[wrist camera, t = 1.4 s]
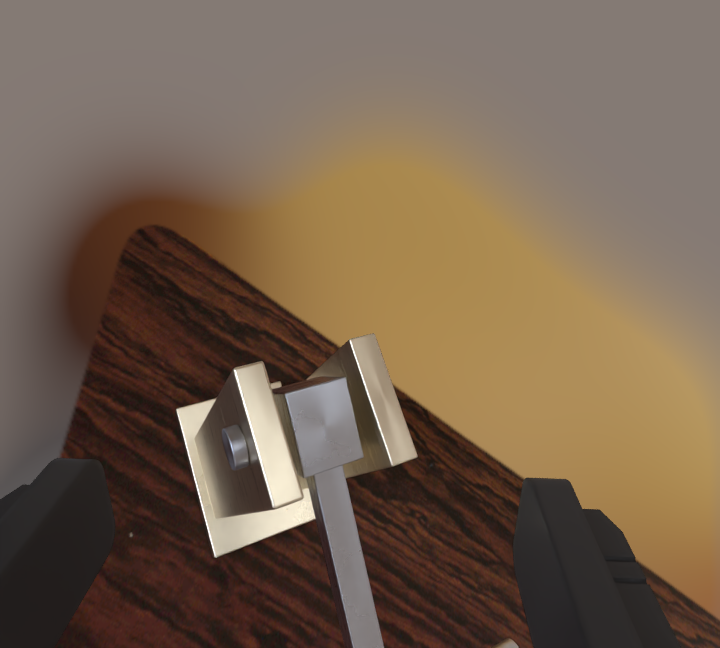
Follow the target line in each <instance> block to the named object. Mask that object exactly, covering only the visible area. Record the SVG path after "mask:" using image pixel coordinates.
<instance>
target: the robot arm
mask: <svg viewBox="0 0 720 648" xmlns="http://www.w3.org/2000/svg"><path fill="white" fill-rule="evenodd" d="M114 536H115V519H114V514H113V510H112V505H111V501H110V496H109V492H108V487H107V483H106V478H105V474H104V469H103V466H102V464H101V463H100V462H99V461H98V460H92V459H67V458H57V459H54V460H53V461H51V462H50V463H49V464H48V465H47V466H46V467H45V469H44V470H43V471H42V472H41V473H40V474H39V475H38V476H37V478H36V479H35V480H34V481H33V482H32V483H31V484H30V485H22V486H20V487H19V488H17V489H16V490H14V491H13V492H11V493H10V494H8V495H6V496H5V497H4V498H2V499H0V648H54V647H55V646H56V644H57V642H58V641H59V639H60V637H61V635H62V634H63V632H64V630H65V629H66V627H67V625H68V624H69V622H70V620H71V618H72V617H73V615H74V613H75V612H76V610H77V608H78V606H79V605H80V603H81V601H82V600H83V598H84V596H85V595H86V593H87V591H88V589H89V588H90V586H91V584H92V583H93V581H94V579H95V577H96V576H97V574H98V572H99V571H100V569H101V567H102V566H103V564H104V562H105V560H106V559H107V557H108V555H109V553H110V551H111V548H112V545H113V541H114ZM513 560H514V569H515V575H516V579H517V583H518V587H519V591H520V595H521V599H522V603H523V607H524V611H525V615H526V619H527V623H528V627H529V631H530V635H531V639H532V643H533V647H534V648H681V646H680V644H679V642H678V640H677V638H676V636H675V634H674V633H673V631H672V629H671V627H670V625H669V623H668V621H667V619H666V617H665V615H664V613H663V611H662V609H661V607H660V605H659V603H658V601H657V599H656V597H655V595H654V593H653V591H652V589H651V587H650V585H647V583H646V577H645V575H644V573H643V572H642V570H641V568H640V566H639V564H638V563H636V561H635V556H634V554H633V552H632V550H631V548H630V546H629V544H628V542H627V540H626V538H625V536H624V534H623V532H622V531H621V530H620V529H619V528H618V527H617V526H616V525H615V524H614V523H613V522H612V521H611V520H610V519H608V517H607V516H605V515H604V514H603V513H602V512H601V511H600V510H594V509H582V507H581V505H580V503H579V501H578V498H577V496H576V494H575V492H574V489H573V487H572V485H571V483H570V482H569V481H568V480H566V479H547V478H525V480H524V482H523V485H522V491H521V497H520V503H519V510H518V516H517V522H516V528H515V535H514V542H513Z"/></svg>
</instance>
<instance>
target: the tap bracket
mask: <svg viewBox="0 0 720 648" xmlns="http://www.w3.org/2000/svg"><path fill="white" fill-rule="evenodd" d="M319 376H329V377H346V380H347V384H348V389H349V393H350V398H351V402H352V406H353V411H354V415H355V420H356V424H357V428H358V433H359V437H360V442H361V446H362V451H363V455H364V457H363V458H362V459H359V460H356V461H353V462H350V463H347V464H345V465H343V469H344V473H345V478H346V479H347V478H351V477H355V476H358V475H362V474H366V473H370V472H374V471H378V470H382V469H385V468H389V467H393V466H396V465H399V464H401V463H404V462H407V461H410V460H412V459H415V458H417V457H418V456H417V453H416V450H415V447H414V444H413V441H412V439H411V436H410V433H409V430H408V427H407V424H406V422H405V419H404V416H403V413H402V410H401V407H400V404H399V402H398V399H397V396H396V393H395V390H394V387H393V385H392V382H391V379H390V376H389V374H388V370H387V368H386V365H385V362H384V359H383V356H382V353H381V350H380V348H379V345H378V342H377V339H376V337H375V334H374V333H373V334H369V335H364V336H361V337H356V338H352V339H349V340H348V341H347V342H346V343H345V344H344V345H343V346H342V347H341V348H340V349H338V350H337V351H336V352H335V353H334V354H333V355H332V356H331V357H330V358H329V359H328V360H327V361H326V362H324V363H323V364H322V365H321V366H320V367H319V368H318V369H317V370H316V371H315V372H314V373H313V374H311V375H310V376H309V377H308V378H307V379H306V380H308V379H312V378H316V377H319ZM279 387H282V385H281V382H280V381H278V382H274V383H270V382H269V379H268V375H267V372H266V369H265V365H264V363H263V362H261V361H260V362H256V363H251V364H247V365H243V366H239V367H235V368H234V369H233V370H232V372H231V374H230V376H229V377H228V379H227V381H226V383H225V384H224V386H223V388H222V390H221V392H220V393H219V395H218V397H217V398H214V399H210V400H206V401H202V402H199V403H195V404H191V405H187V406H184V407H180V408H177V409H176V412H175V415H176V419H177V423H178V427H179V431H180V435H181V438H182V442H183V446H184V450H185V454H186V458H187V462H188V466H189V469H190V473H191V477H192V481H193V485H194V489H195V493H196V496H197V500H198V504H199V508H200V512H201V516H202V520H203V523H204V527H205V531H206V535H207V539H208V543H209V547H210V550H211V554H212V557H214V558H217V557H220V556H222V555H225V554H228V553H230V552H233V551H235V550H238V549H241V548H243V547H246V546H248V545H251V544H253V543H256V542H259V541H261V540H264V539H266V538H269V537H272V536H274V535H277V534H279V533H282V532H284V531H287V530H290V529H292V528H295V527H297V526H300V525H303V524H305V523H308V522H310V521H313V520H316V519H315V514H314V510H313V506H312V501H311V497H310V492H309V488H308V484H307V479H306V478H303V477H301V476H299V475H297V471H296V468H295V465H294V461H293V458H292V455H291V452H290V448H289V445H288V442H287V438H286V435H285V432H284V428H283V425H282V422H281V418H280V415H279V412H278V408H277V405H276V402H275V398H274V395H273V392H272V389H275V388H279Z"/></svg>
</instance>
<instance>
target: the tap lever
mask: <svg viewBox="0 0 720 648" xmlns="http://www.w3.org/2000/svg"><path fill="white" fill-rule="evenodd" d="M272 392H273V395H274V398H275V402H276V405H277V408H278V412H279V415H280V418H281V422H282V425H283V428H284V432H285V435H286V438H287V442H288V445H289V448H290V452H291V455H292V458H293V461H294V465H295V468H296V471H297V475H299V476H301V477H303V478H306V479H307V484H308V488H309V492H310V497H311V501H312V506H313V510H314V514H315V519H316V523H317V527H318V532H319V536H320V541H321V545H322V549H323V554H324V558H325V562H326V567H327V571H328V576H329V580H330V584H331V589H332V593H333V597H334V602H335V606H336V611H337V615H338V619H339V624H340V628H341V632H342V637H343V641H344V646H345V648H384V645H383V641H382V636H381V632H380V627H379V623H378V619H377V614H376V610H375V605H374V601H373V597H372V592H371V588H370V583H369V579H368V575H367V570H366V566H365V561H364V557H363V553H362V548H361V544H360V539H359V535H358V531H357V526H356V522H355V517H354V513H353V509H352V504H351V500H350V495H349V491H348V487H347V482H346V478H345V473H344V469H343V465H345V464H347V463H350V462H353V461H356V460H359V459H362V458H363V457H364V455H363V451H362V446H361V442H360V437H359V433H358V428H357V424H356V420H355V415H354V411H353V406H352V402H351V398H350V393H349V389H348V384H347V380H346V377H329V376H319V377H316V378H312V379H308V380H305V381H301V382H297V383H293V384H290V385H286V386H282V387H279V388H275V389H272ZM491 648H519V647H518V646H517V644H516V643H515V642H514V641H513V640H511V639H505V640H503V641H501V642H500V643H498V644H496V645H495V646H493V647H491Z"/></svg>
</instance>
